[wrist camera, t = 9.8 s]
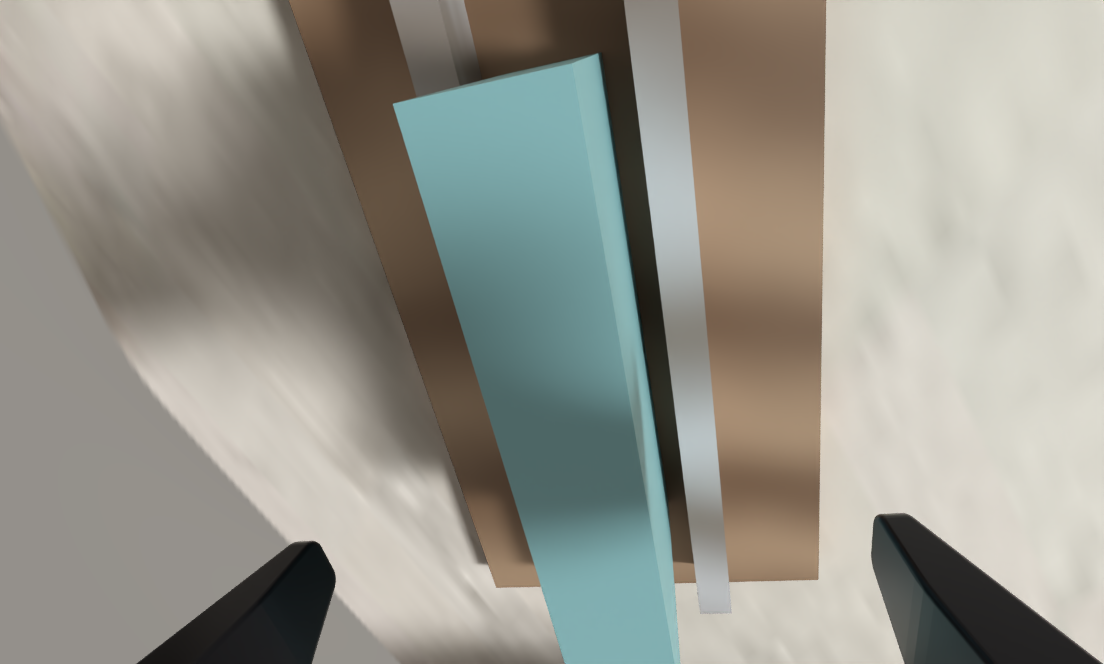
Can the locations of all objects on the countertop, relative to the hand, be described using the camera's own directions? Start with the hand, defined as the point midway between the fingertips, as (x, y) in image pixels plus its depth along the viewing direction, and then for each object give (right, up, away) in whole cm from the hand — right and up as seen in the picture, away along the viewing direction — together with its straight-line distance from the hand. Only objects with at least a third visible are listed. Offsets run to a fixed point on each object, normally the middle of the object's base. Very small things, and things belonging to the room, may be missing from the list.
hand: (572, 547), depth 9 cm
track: (+1, +4, +8) cm, 9 cm away
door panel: (+1, +4, +7) cm, 8 cm away
